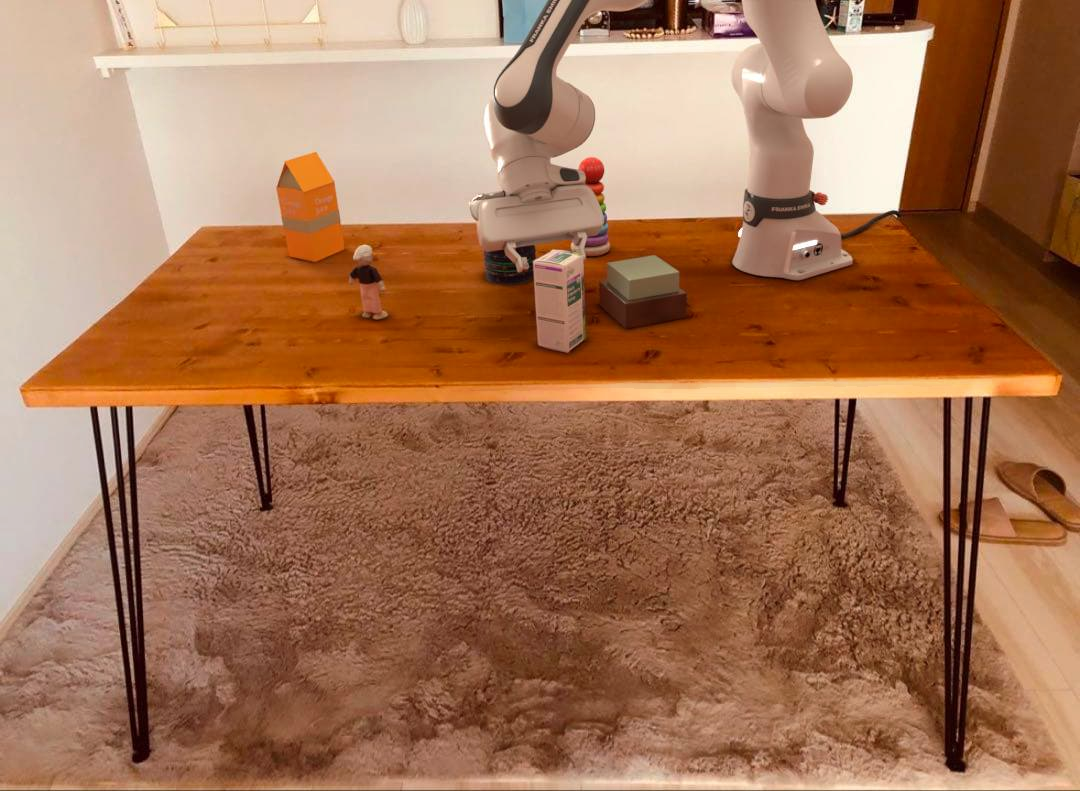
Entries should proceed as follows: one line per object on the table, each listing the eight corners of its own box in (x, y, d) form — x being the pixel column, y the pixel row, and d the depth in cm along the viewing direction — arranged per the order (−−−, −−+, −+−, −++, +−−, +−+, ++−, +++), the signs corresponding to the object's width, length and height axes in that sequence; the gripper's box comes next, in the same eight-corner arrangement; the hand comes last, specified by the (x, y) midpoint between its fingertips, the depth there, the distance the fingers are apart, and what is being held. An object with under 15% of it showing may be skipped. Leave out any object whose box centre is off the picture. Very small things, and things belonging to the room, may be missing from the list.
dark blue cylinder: (524, 262, 168) (520, 187, 160) (545, 278, 160) (542, 200, 153) (477, 272, 164) (471, 195, 157) (497, 288, 156) (491, 208, 149)
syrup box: (568, 353, 131) (566, 265, 124) (536, 346, 134) (532, 259, 127) (586, 339, 135) (585, 253, 128) (554, 332, 138) (552, 247, 131)
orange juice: (288, 256, 176) (270, 159, 166) (318, 243, 183) (303, 149, 173) (315, 262, 172) (298, 163, 163) (345, 249, 179) (331, 153, 169)
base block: (656, 295, 151) (656, 271, 148) (685, 317, 142) (687, 292, 139) (599, 305, 148) (599, 281, 145) (625, 329, 138) (626, 303, 136)
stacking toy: (607, 258, 168) (607, 163, 159) (567, 257, 170) (565, 162, 161) (612, 245, 175) (613, 153, 166) (574, 244, 176) (572, 153, 167)
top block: (654, 274, 147) (654, 254, 146) (678, 291, 140) (679, 271, 138) (606, 282, 145) (606, 262, 143) (629, 300, 137) (629, 280, 136)
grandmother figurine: (397, 313, 148) (388, 243, 142) (387, 321, 145) (377, 250, 139) (358, 308, 150) (348, 240, 144) (347, 317, 147) (336, 247, 141)
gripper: (469, 185, 129) (491, 266, 125) (593, 169, 134) (618, 247, 131) (463, 206, 135) (485, 284, 131) (582, 190, 140) (606, 265, 137)
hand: (552, 265), depth 131 cm, fingers open, 8 cm apart
